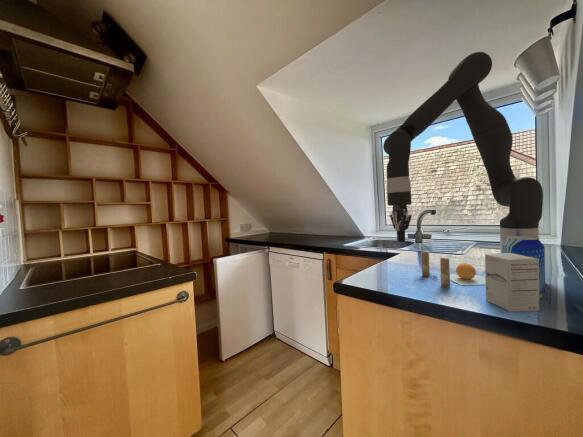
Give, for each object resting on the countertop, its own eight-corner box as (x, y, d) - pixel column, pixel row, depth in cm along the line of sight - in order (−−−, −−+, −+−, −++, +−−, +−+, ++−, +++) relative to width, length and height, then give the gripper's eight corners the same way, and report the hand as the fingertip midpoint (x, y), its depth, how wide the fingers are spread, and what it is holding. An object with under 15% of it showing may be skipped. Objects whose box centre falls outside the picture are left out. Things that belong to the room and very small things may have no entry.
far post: (427, 274, 90) (426, 250, 90) (430, 276, 88) (430, 252, 87) (421, 274, 90) (420, 251, 90) (424, 276, 88) (423, 252, 87)
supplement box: (484, 300, 64) (483, 253, 64) (513, 299, 64) (512, 252, 63) (508, 312, 57) (507, 259, 56) (541, 311, 57) (540, 257, 56)
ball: (449, 271, 85) (462, 280, 85) (459, 275, 80) (473, 285, 80) (458, 258, 85) (471, 267, 85) (469, 262, 79) (483, 271, 79)
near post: (447, 285, 78) (446, 257, 77) (451, 287, 75) (450, 258, 75) (439, 285, 78) (438, 257, 77) (443, 287, 75) (442, 259, 75)
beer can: (526, 289, 71) (525, 235, 70) (555, 299, 62) (554, 238, 62) (495, 289, 71) (494, 236, 71) (519, 300, 63) (518, 239, 63)
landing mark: (474, 274, 88) (474, 273, 88) (500, 284, 76) (500, 283, 76) (440, 275, 88) (440, 274, 88) (461, 285, 76) (461, 284, 76)
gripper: (419, 188, 75) (421, 243, 76) (402, 192, 89) (404, 238, 89) (394, 190, 76) (397, 245, 76) (381, 193, 89) (383, 239, 90)
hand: (401, 241), depth 83 cm, fingers closed
